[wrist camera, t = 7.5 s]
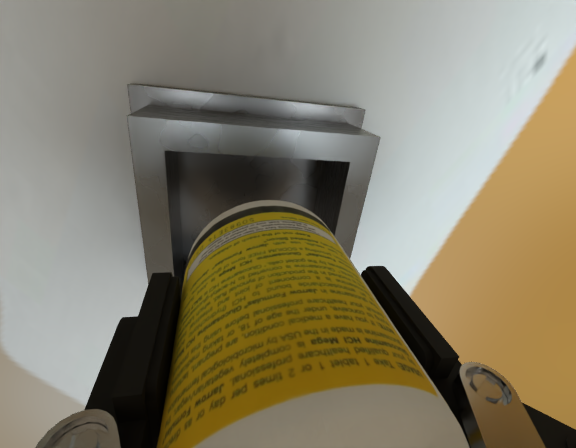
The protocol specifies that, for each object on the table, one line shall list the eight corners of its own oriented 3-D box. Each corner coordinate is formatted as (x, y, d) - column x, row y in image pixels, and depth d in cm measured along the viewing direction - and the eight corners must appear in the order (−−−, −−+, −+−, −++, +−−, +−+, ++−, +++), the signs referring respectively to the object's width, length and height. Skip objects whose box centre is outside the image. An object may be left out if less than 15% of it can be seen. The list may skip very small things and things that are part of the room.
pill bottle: (152, 260, 11) (-196, 1262, 2) (278, 162, 11) (825, 1055, 1) (253, 335, 14) (318, 862, 5) (357, 263, 14) (680, 727, 4)
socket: (131, 83, 14) (98, 89, 10) (359, 108, 17) (401, 120, 13) (154, 281, 19) (138, 334, 16) (324, 275, 22) (346, 319, 18)
